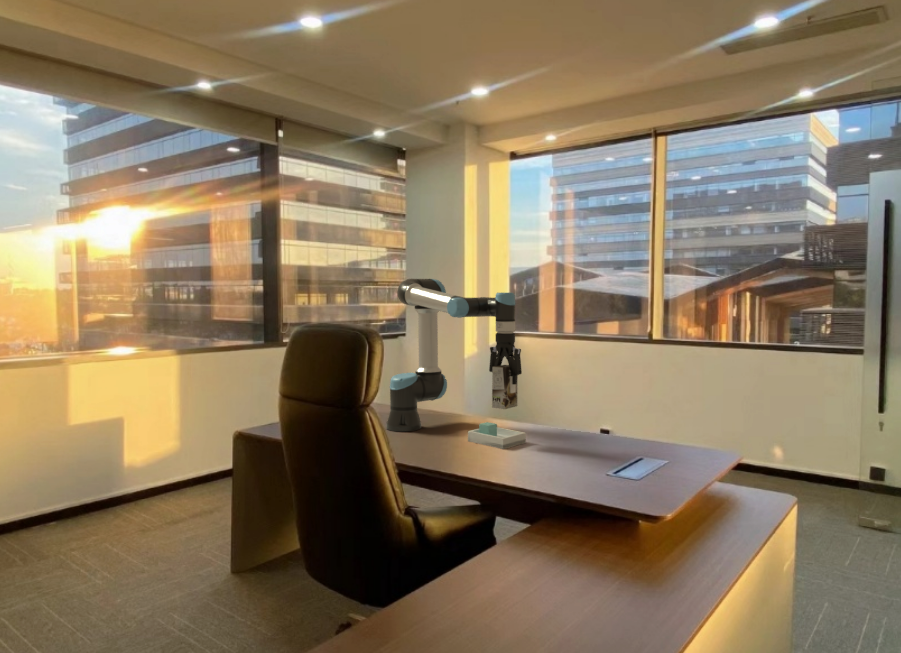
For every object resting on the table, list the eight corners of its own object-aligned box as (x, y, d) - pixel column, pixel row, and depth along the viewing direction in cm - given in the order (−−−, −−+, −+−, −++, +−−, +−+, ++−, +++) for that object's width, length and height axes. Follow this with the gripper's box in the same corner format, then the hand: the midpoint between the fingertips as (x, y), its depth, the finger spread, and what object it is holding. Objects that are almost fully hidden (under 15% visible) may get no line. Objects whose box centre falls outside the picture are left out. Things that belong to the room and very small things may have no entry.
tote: (467, 441, 248) (467, 431, 248) (490, 435, 258) (491, 425, 258) (503, 449, 235) (503, 438, 235) (525, 442, 245) (525, 432, 245)
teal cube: (479, 436, 250) (479, 423, 249) (487, 434, 253) (487, 422, 253) (488, 438, 246) (488, 425, 246) (496, 436, 250) (496, 423, 249)
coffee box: (505, 409, 237) (505, 367, 236) (491, 407, 241) (491, 366, 240) (518, 406, 244) (518, 365, 244) (504, 404, 248) (504, 364, 248)
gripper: (479, 331, 246) (479, 390, 247) (519, 334, 232) (519, 395, 233) (492, 330, 251) (491, 387, 252) (531, 333, 237) (531, 393, 238)
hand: (505, 391), depth 243 cm, fingers closed on coffee box, 7 cm apart
